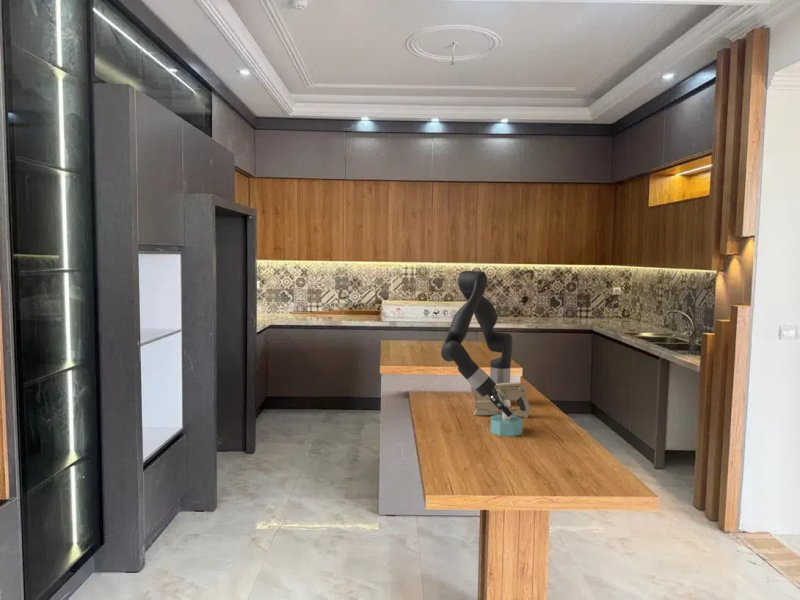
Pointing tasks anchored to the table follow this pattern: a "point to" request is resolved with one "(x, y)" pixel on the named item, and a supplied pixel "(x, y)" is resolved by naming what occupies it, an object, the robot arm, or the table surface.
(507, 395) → the gun
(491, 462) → the table surface
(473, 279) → the robot arm
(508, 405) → the striped domed peg
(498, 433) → the bead
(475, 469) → the table surface
